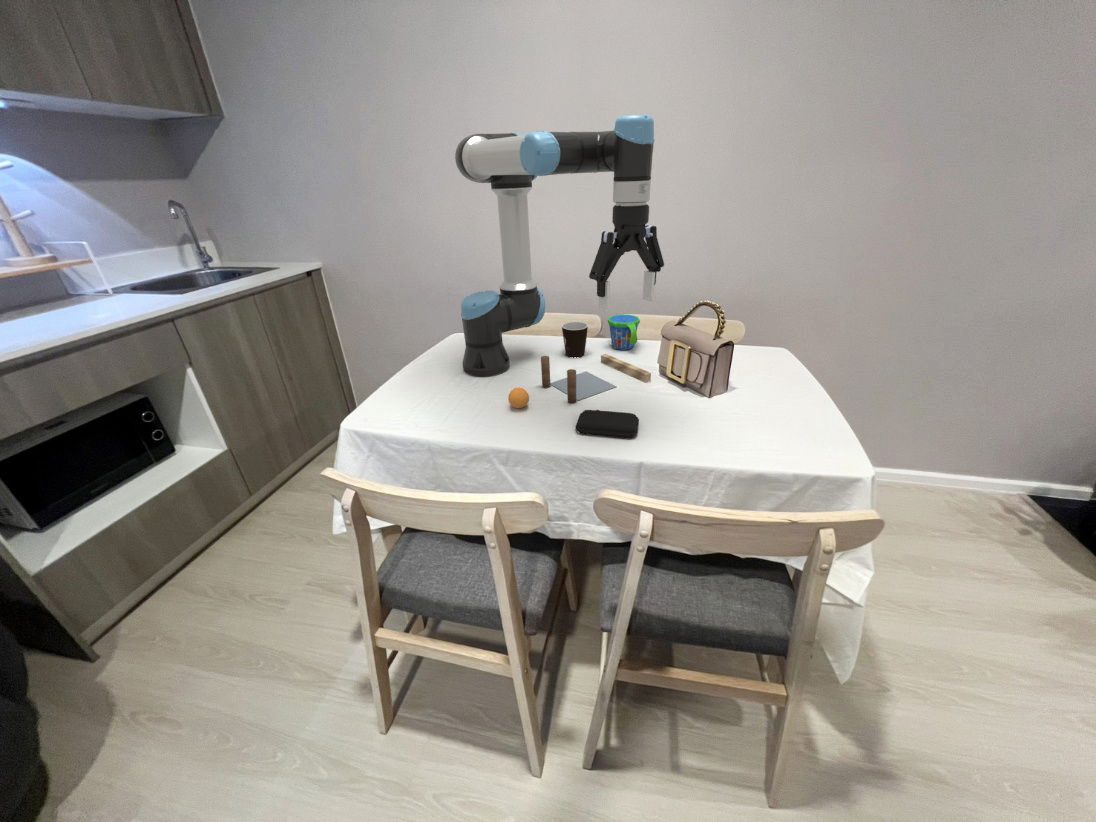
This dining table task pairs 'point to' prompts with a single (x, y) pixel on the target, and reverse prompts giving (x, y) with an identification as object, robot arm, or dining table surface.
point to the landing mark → (585, 385)
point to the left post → (545, 371)
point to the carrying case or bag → (607, 424)
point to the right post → (571, 385)
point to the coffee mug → (574, 338)
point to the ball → (518, 397)
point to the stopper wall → (626, 368)
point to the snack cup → (623, 331)
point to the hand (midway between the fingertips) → (626, 305)
